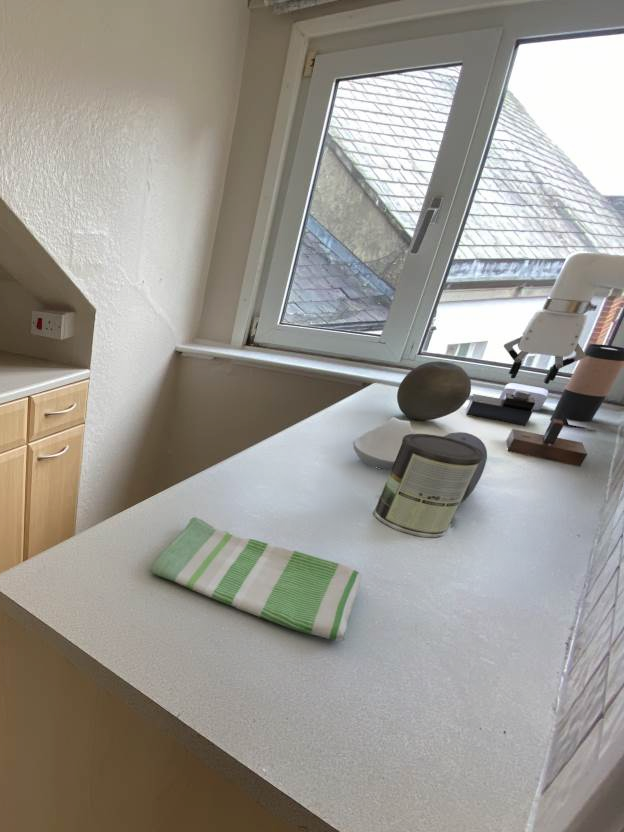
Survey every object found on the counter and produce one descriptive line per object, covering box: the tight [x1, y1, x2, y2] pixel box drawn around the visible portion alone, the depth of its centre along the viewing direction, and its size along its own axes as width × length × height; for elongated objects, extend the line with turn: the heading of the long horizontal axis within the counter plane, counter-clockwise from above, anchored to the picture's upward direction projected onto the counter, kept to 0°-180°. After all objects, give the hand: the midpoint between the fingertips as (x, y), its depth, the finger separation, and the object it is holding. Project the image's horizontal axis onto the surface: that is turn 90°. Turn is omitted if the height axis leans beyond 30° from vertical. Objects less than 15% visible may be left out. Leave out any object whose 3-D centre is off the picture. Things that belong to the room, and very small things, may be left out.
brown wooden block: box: [506, 428, 588, 468], centre depth 123 cm, size 12×9×3 cm
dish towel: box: [149, 516, 362, 642], centre depth 75 cm, size 18×23×3 cm
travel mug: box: [549, 343, 624, 429], centre depth 139 cm, size 8×8×20 cm
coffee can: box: [373, 433, 484, 538], centre depth 89 cm, size 10×10×14 cm
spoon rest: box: [352, 417, 414, 471], centre depth 116 cm, size 24×12×7 cm, turn 140°
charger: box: [499, 382, 549, 411], centre depth 159 cm, size 5×9×15 cm
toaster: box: [465, 393, 535, 427], centre depth 145 cm, size 12×9×6 cm
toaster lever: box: [512, 390, 530, 400], centre depth 142 cm, size 3×3×2 cm
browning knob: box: [543, 418, 565, 444], centre depth 121 cm, size 4×2×5 cm, turn 139°
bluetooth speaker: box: [442, 431, 488, 504], centre depth 100 cm, size 23×9×10 cm, turn 134°
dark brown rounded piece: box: [396, 360, 472, 421], centre depth 138 cm, size 14×14×15 cm
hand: (529, 379), depth 140 cm, fingers open, 5 cm apart
